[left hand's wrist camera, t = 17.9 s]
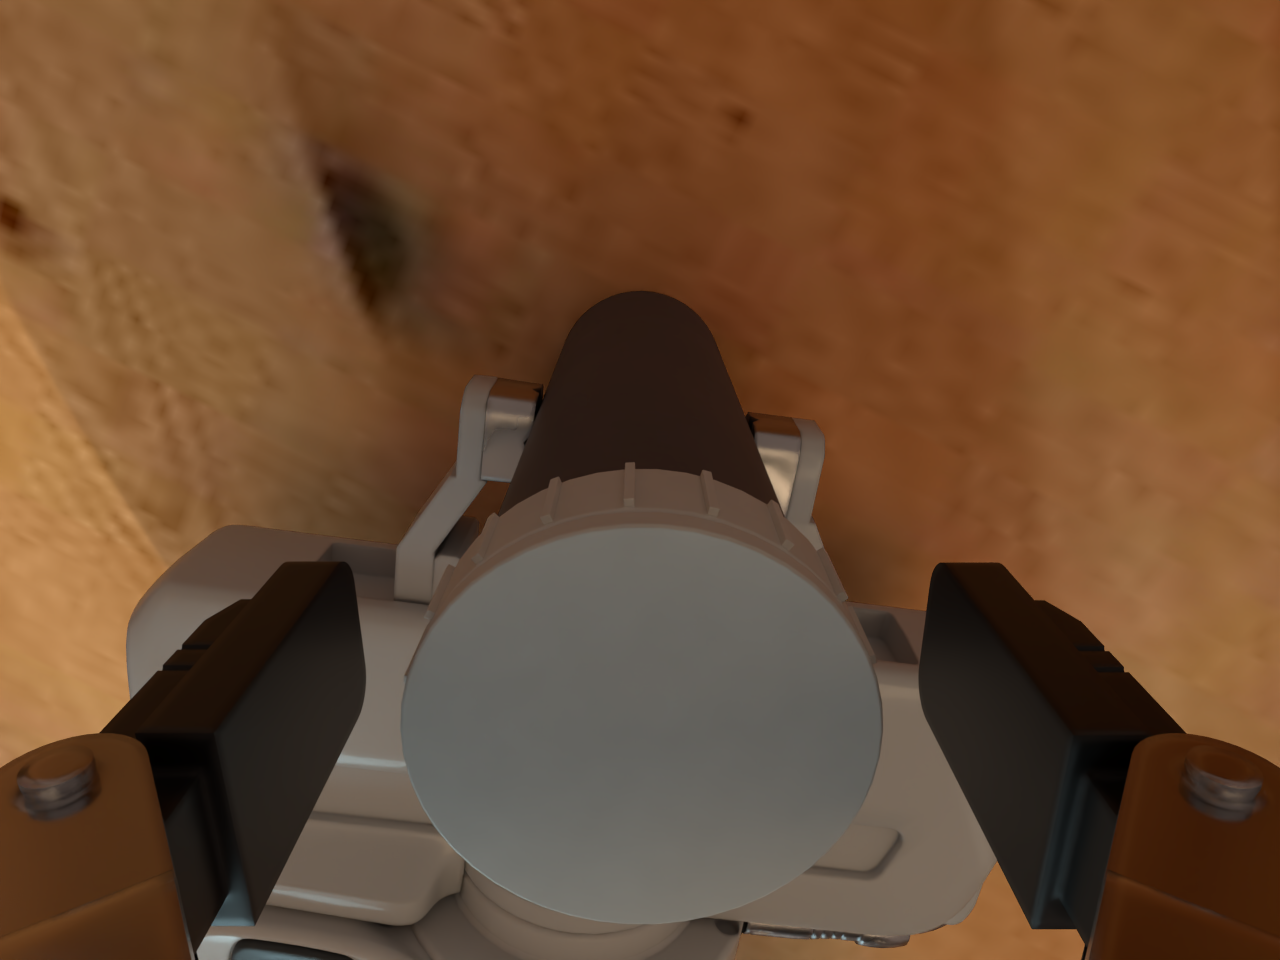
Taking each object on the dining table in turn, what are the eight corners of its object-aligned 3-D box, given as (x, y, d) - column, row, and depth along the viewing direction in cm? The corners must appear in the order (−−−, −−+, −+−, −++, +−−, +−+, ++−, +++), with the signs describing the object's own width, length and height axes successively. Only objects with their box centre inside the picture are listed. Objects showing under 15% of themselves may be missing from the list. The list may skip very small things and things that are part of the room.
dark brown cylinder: (549, 299, 23) (400, 549, 9) (714, 282, 23) (841, 506, 9) (571, 454, 25) (476, 884, 10) (725, 439, 25) (849, 854, 10)
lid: (406, 794, 11) (369, 893, 10) (455, 419, 9) (419, 470, 8) (791, 855, 12) (813, 960, 10) (909, 506, 10) (957, 569, 8)
